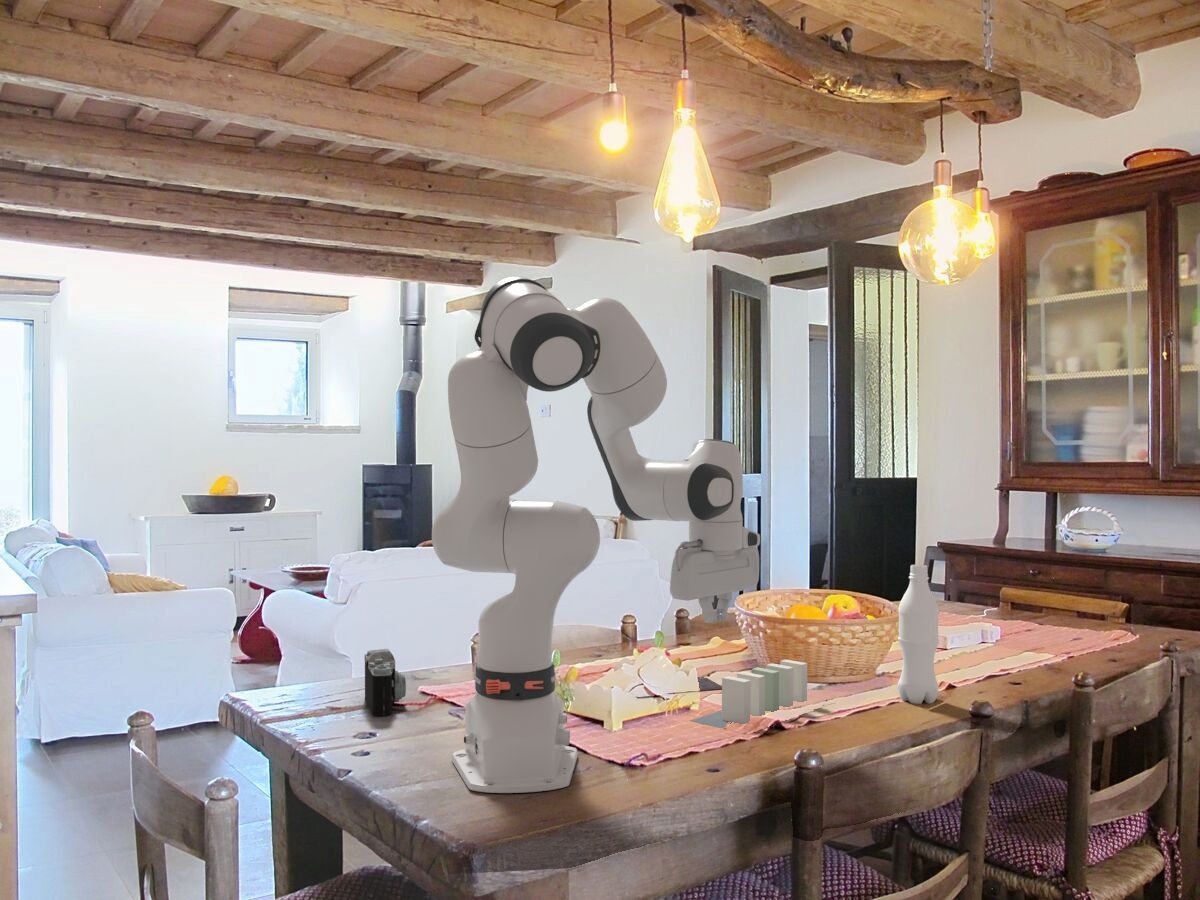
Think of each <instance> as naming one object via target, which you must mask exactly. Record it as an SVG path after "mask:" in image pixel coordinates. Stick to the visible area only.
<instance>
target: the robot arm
mask: <svg viewBox="0 0 1200 900" xmlns="http://www.w3.org/2000/svg"><path fill="white" fill-rule="evenodd" d="M479 315H480V316H479V320H478V324H477V325H476V329H475V332H474V341H475V342H476V345H477V346H478V347H479V349H478V350H477V351H474V352H471V353H469V354H468V353H467V354H466V355H463V357H461V358H460V359H458V360H457V361H456V362H455V363H454V364H453V365H452V367H451V368H450V371H449V373H448V375H447V397H448V398H447V399H448V410H449V418H450V424H451V429H452V434H453V439H454V444H455V446H456V447H455V448H456V453H457V457H458V464H459V472H460V484H459V489H458V492H457V493H456V495H455V497H454V498H453V499H452V500H451V501H450V502H449V503H447V504H446V505H445V506H443V507H442V508H441V510H440V511H439V512H438V514H437V516H436V517H435V519H434V522H433V524H432V529H431V542H432V543H431V544H432V547H433V551H434V552H435V555H436V557H437V558H438V559H439V560H440V562H441V563H442V565H445V566H448V567H451V568H455V569H459V570H463V571H467V572H472V573H497V574H500V573H501V574H513V575H515V582H514V587H513V589H512V592H509V593H507V594H505V595H502V596H501V597H499V598H497V599H495V600H494V601H491V603H489V604H488V605H486V606H485V607H484V608H483V609H482V611H481V613H480V615H479V618H478V627H477V629H478V635H477V636H478V638H477V639H478V644H477V645H478V646H477V647H478V662H477V665H476V666H475V673H474V685H475V686H474V689H475V694H474V695H473V697H472V698H471V699H470V700H469V701H468V702H467V703H466V704H465V720H464V721H465V723H464V731H465V732H464V733H465V734H464V737H463V742H464V748H463V749H459V750H457V751H454V752H452V755H451V762H452V763H453V765H454V766H455V768H456V770H457V771H458V773H459V775H460V776H461V778H462V780H463V782H464V783H465V785H466V786H467V788H468V789H469V790H471V791H474V792H479V793H492V794H495V793H497V794H513V793H515V794H518V793H519V794H520V793H535V792H543V791H544V792H545V791H552V790H558V789H562V788H565V787H566V788H567V787H569V785H570V783H571V782H572V781H571V780H572V777H573V774H574V770H575V767H576V763H577V759H578V749H577V748H576V747H573V746H569V745H570V740H571V731H570V730H571V729H569V728H565V727H564V726H565V724H568V714H567V713H564V712H565V711H564V700H563V699H561V697H559V696H558V695H557V694H556V692H555V690H556V672H555V671H556V670H555V664H554V663H553V661H552V659H553V658H552V657H553V654H552V653H553V632H554V620H555V615H556V610H557V607H558V604H559V602H560V600H561V597H562V595H563V594H564V592H565V591H566V589H567V588H568V586H569V585H570V584H571V583H572V581H573V580H574V579H576V578H577V576H579V575H580V574H581V573H582V572H584V571H585V570H587V569H588V568H589V567H590V566H591V564H592V563H593V562H594V561H595V558H596V557H597V555H598V552H599V548H600V544H601V535H600V534H601V532H600V528H599V524H598V522H597V520H596V517H595V516H594V515H593V513H592V512H591V511H590V510H589V509H588V507H585V506H583V505H582V506H581V505H577V504H574V503H569V502H563V501H559V500H524V499H523V500H520V499H519V500H517V499H513V498H511V496H513V495H515V494H517V493H519V492H520V491H522V490H523V489H524V488H526V486H527V485H528V484H530V482H531V481H533V479H534V477H535V475H536V474H537V472H538V471H537V470H538V467H539V466H538V465H539V457H538V456H539V455H538V451H537V445H536V441H535V435H534V430H533V425H532V420H531V416H530V415H531V414H530V410H529V406H528V403H527V401H528V390H529V387H531V388H534V389H536V390H538V391H541V392H549V393H550V392H551V393H552V392H557V391H561V390H562V391H563V390H564V389H567V388H569V387H570V386H572V385H574V384H576V383H577V382H579V381H580V380H581V379H582V380H583V381H584V383H585V385H586V386H587V388H588V390H589V392H590V394H591V395H590V397H589V398H590V399H589V401H588V403H587V408H586V409H587V410H586V411H587V419H588V420H587V421H588V425H589V427H590V431H591V433H592V436H593V439H594V441H595V444H596V447H597V450H598V451H599V455H600V457H601V460H602V461H603V464H604V467H605V469H606V472H607V474H608V477H609V480H610V485H611V490H612V496H613V500H614V503H615V505H616V507H617V509H618V510H619V511H620V513H621V514H622V515H623V516H624V517H625V518H626V519H628V520H629V521H632V522H633V521H634V522H639V521H667V522H668V521H670V522H688V541H682V542H680V544H679V546H678V547H677V549H675V552H674V553H675V554H674V556H673V559H672V563H671V564H672V565H671V571H670V580H669V581H670V583H669V593H670V595H671V597H672V598H673V599H674V600H679V601H687V602H688V601H694V600H698V604H699V606H700V608H701V611H702V612H703V614H702V618H703V619H702V620H703V622H704V623H706V624H714V623H717V622H724V621H726V620H728V610H729V607H730V605H731V602H732V600H733V593H735V592H741V591H745V590H752V589H755V588H756V586H757V584H758V582H759V581H760V580H759V579H760V554H759V549H758V547H759V546H760V544H761V536H760V533H758V532H756V531H753V530H751V529H749V528H747V527H745V526H743V522H744V521H743V520H744V519H743V513H742V510H741V502H742V499H743V494H744V491H743V490H744V484H743V483H744V482H743V481H744V479H743V465H742V457H741V453H740V450H739V447H738V446H737V444H735V443H734V442H732V441H728V440H723V439H722V440H721V439H714V438H702V439H699V440H696V441H694V443H693V445H692V450H691V454H689V456H687V457H686V458H683V460H656V459H650V458H647V457H644V456H642V455H641V454H639V453H638V450H637V448H636V444H635V442H634V439H633V437H632V434H631V431H630V428H631V427H632V428H633V427H635V426H637V425H640V424H641V423H643V422H645V421H647V419H648V418H650V417H651V416H652V415H654V414H655V412H656V411H657V410H658V408H659V407H660V406H661V405H662V402H663V401H664V399H665V396H666V393H667V388H668V380H667V375H666V370H665V368H664V366H663V363H662V361H661V359H660V357H659V356H658V353H657V351H656V350H655V348H654V346H653V344H652V342H651V340H650V338H649V337H648V335H647V334H646V332H645V331H644V330H643V328H642V326H641V325H640V323H639V322H638V321H637V319H636V318H635V317H634V316H633V314H632V313H631V311H629V309H628V308H627V307H626V306H625V305H624V304H623V303H622V302H620V301H619V300H616V299H614V298H609V297H599V298H595V299H591V300H589V301H587V302H585V303H583V304H581V306H580V305H579V307H576V308H572V309H571V308H567V306H565V305H564V304H563V302H561V300H560V299H558V297H556V296H555V295H554V294H552V293H551V292H550V291H548V289H547V288H546V287H545V286H544V285H542V284H540V283H539V282H537V281H535V280H533V279H530V278H527V277H521V276H512V277H507V278H504V279H501V280H500V281H498V282H496V283H495V284H494V285H493V286H492V287H491V288H490V289H489V290H488V292H487V294H486V295H485V298H484V300H483V302H482V306H481V310H480V314H479ZM715 596H716V598H717V599H718V601H717V604H716V608H715V609H714V605H713V603H714V602H715Z"/></svg>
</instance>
